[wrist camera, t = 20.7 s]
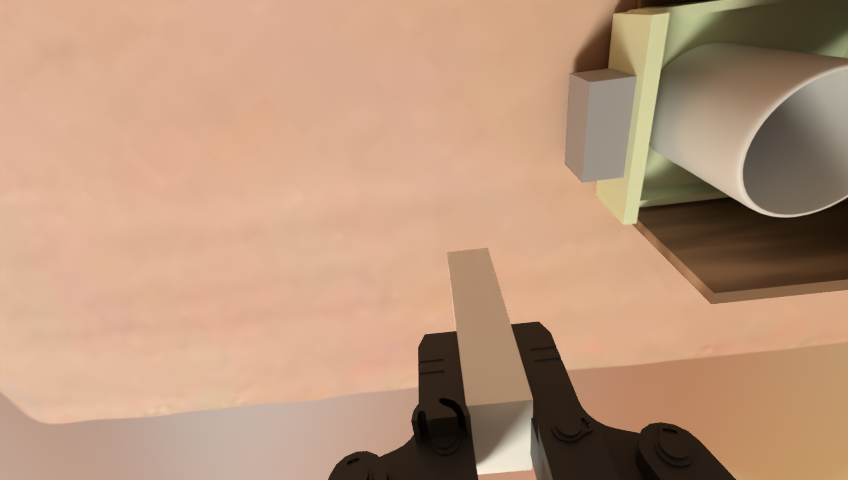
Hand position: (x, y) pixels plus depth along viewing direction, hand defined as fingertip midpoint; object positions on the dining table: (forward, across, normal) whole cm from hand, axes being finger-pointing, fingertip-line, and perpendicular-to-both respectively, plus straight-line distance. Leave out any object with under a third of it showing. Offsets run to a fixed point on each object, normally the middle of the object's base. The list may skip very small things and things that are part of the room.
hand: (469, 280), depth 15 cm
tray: (+20, +20, 0) cm, 28 cm away
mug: (+19, +21, 0) cm, 29 cm away
